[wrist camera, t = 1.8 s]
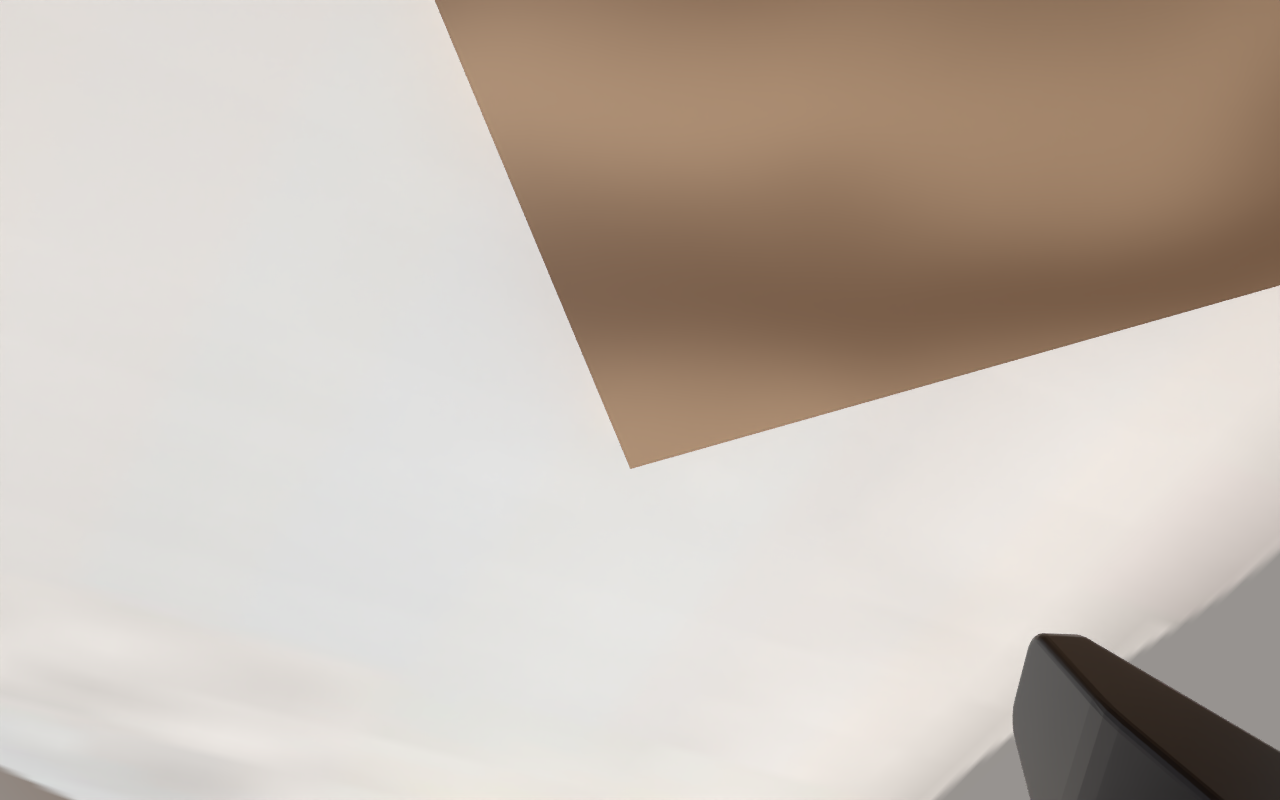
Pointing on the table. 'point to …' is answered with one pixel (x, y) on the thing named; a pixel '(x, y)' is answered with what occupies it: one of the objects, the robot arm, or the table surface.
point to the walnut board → (871, 186)
